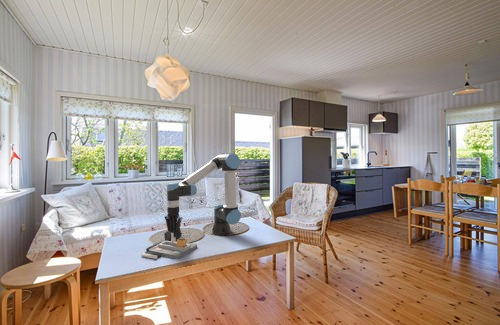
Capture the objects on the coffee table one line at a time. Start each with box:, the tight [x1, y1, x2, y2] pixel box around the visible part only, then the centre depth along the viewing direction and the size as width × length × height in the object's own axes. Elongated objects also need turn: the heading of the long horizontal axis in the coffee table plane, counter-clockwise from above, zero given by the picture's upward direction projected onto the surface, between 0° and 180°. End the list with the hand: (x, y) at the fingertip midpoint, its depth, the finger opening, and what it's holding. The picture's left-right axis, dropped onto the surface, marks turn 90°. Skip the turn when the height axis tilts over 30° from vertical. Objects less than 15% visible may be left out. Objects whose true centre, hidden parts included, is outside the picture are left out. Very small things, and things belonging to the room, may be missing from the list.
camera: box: [164, 228, 183, 241], centre depth 178 cm, size 13×10×10 cm
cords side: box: [145, 241, 163, 252], centre depth 162 cm, size 14×5×2 cm, turn 159°
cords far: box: [140, 251, 162, 260], centre depth 148 cm, size 12×5×2 cm, turn 69°
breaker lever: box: [176, 236, 187, 248], centre depth 156 cm, size 4×4×7 cm
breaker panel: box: [149, 240, 198, 260], centre depth 158 cm, size 20×22×4 cm
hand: (173, 241), depth 158 cm, fingers closed
